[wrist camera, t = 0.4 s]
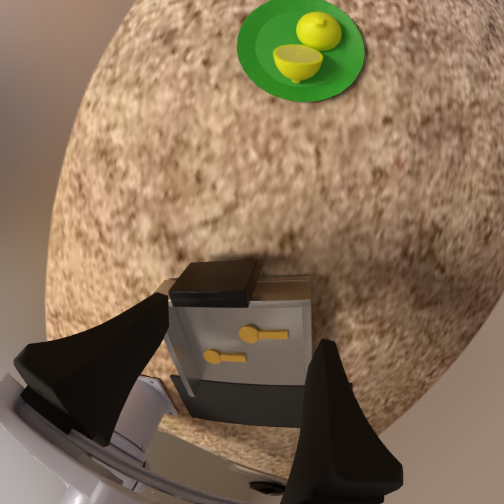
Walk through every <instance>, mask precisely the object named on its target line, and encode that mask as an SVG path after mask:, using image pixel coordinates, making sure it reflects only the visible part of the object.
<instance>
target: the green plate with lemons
mask: <svg viewBox="0 0 504 504" xmlns="http://www.w3.org/2000/svg"><path fill="white" fill-rule="evenodd" d="M237 52H238V57H239V61H240V63H241V65H242V67H243V70H244V71H245V72H246V74H247V75H248V76H249V78H250V79H251V80H252V81H253V82H254V83H255V84H256V85H257V86H258V87H260V88H262V89H263V90H265V91H266V92H268V93H270V94H272V95H274V96H277V97H279V98H282V99H286V100H290V101H299V102H311V101H320V100H323V99H327V98H331V97H333V96H335V95H337V94H339V93H341V92H342V91H343V90H345V89H346V88H347V87H349V86H350V85H351V84H352V83H353V81H354V80H355V79H356V78H357V76H358V74H359V72H360V70H361V68H362V65H363V61H364V44H363V40H362V36H361V34H360V32H359V30H358V28H357V26H356V25H355V24H354V22H353V21H352V20H351V19H350V17H349V16H348V15H346V14H345V13H344V12H343V11H342V10H341V9H339V8H337V7H336V6H334V5H332V4H331V3H329V2H326V1H323V0H270V1H268V2H266V3H264V4H263V5H261V6H259V7H258V8H257V9H255V10H254V11H253V12H252V13H251V14H250V15H249V16H248V17H247V19H246V20H245V21H244V23H243V25H242V27H241V29H240V32H239V35H238V39H237Z"/></svg>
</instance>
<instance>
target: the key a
mask: <svg viewBox="0 0 504 504" xmlns="http://www.w3.org/2000/svg"><path fill="white" fill-rule="evenodd" d="M203 357H204V359H205V360H206V361H208V362H209V363H212V364H218V363H220V362H221V361H229V362H246V361H247V359H246V355H245V354H225V353H220V352H218V351H217V350H214V349H207V350H205V351H204V354H203Z"/></svg>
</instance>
